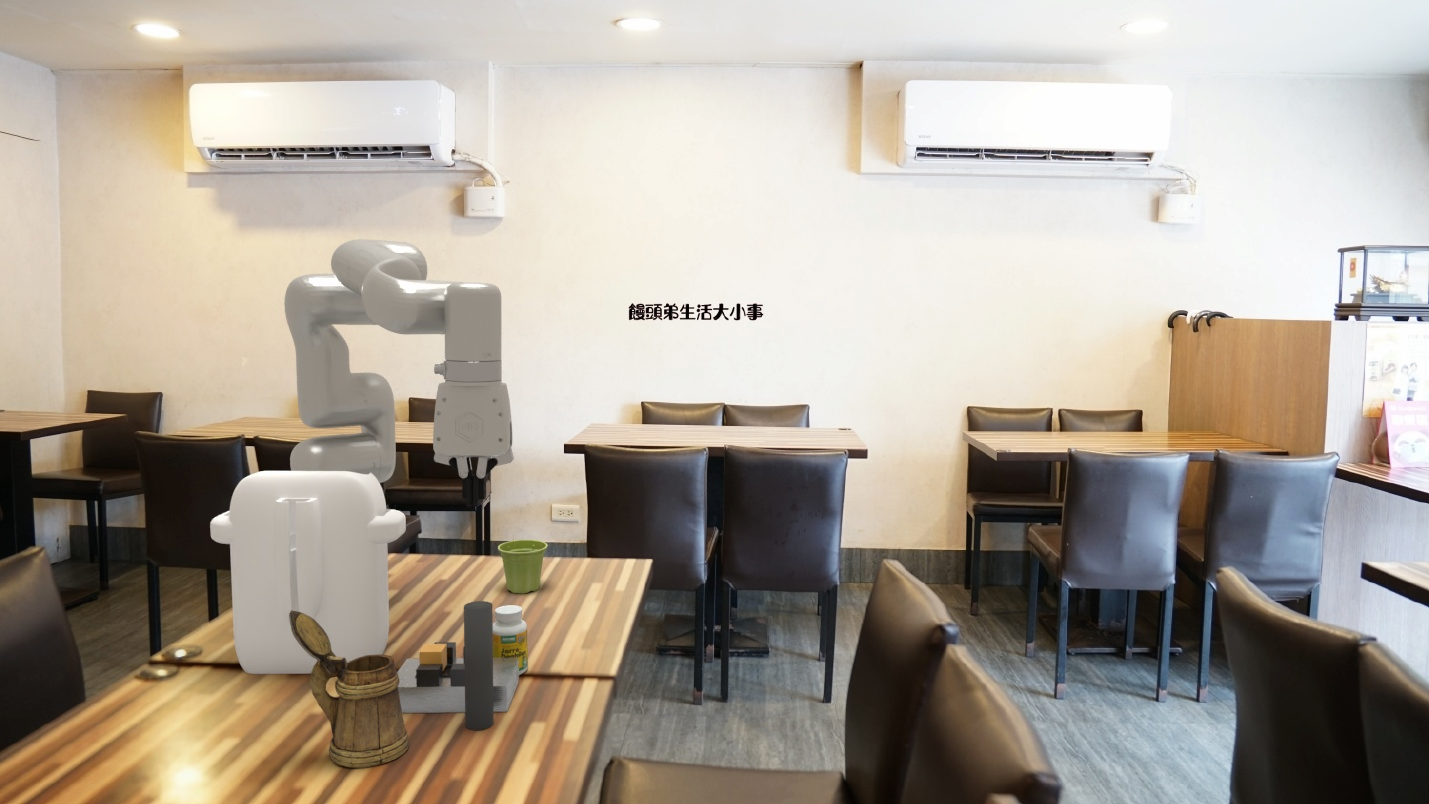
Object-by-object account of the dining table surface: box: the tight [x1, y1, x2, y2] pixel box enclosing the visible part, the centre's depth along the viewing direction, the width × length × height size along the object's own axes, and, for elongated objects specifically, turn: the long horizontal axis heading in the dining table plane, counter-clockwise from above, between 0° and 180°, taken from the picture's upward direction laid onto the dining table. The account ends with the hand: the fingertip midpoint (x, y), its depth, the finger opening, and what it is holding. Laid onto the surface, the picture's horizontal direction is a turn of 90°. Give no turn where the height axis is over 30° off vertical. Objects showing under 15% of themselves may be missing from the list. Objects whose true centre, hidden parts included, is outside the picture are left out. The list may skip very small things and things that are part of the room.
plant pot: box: [497, 539, 549, 595], centre depth 174 cm, size 9×9×9 cm
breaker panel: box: [397, 641, 520, 714], centre depth 126 cm, size 16×10×6 cm, turn 93°
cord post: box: [463, 600, 495, 731], centre depth 117 cm, size 4×4×16 cm
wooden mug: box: [289, 610, 410, 769], centre depth 109 cm, size 9×14×18 cm, turn 96°
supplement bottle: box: [493, 604, 529, 676], centre depth 135 cm, size 5×5×10 cm
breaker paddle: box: [418, 643, 447, 670], centre depth 125 cm, size 3×3×3 cm
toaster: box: [209, 470, 407, 675], centre depth 134 cm, size 27×11×30 cm, turn 94°
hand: (474, 504), depth 125 cm, fingers closed
